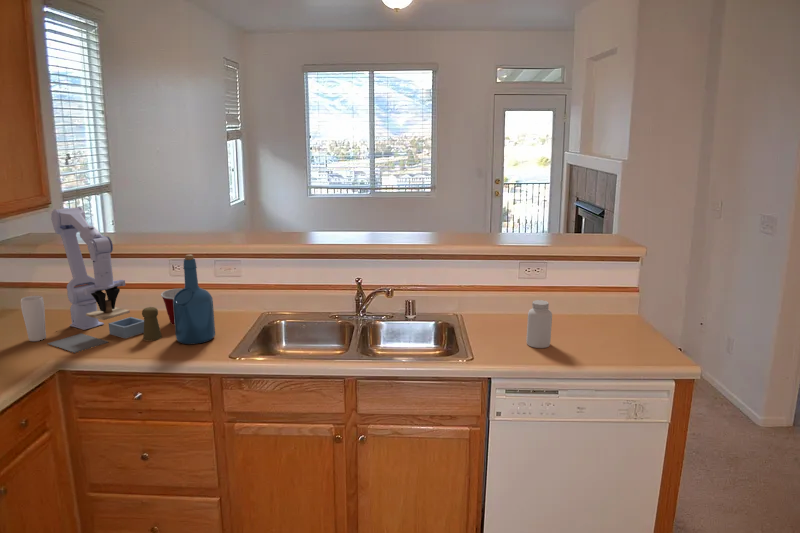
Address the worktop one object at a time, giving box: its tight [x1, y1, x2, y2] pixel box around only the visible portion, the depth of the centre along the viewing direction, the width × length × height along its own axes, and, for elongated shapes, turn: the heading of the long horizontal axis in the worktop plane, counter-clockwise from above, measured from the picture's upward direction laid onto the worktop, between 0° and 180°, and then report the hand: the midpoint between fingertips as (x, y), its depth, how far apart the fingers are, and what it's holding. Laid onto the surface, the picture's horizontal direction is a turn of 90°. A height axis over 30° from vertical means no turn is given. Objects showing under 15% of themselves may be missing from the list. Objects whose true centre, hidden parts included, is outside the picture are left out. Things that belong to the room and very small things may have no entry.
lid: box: [86, 299, 131, 321], centre depth 212 cm, size 10×10×5 cm
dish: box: [108, 316, 144, 339], centre depth 218 cm, size 9×9×4 cm
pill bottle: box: [525, 299, 553, 349], centre depth 204 cm, size 8×8×15 cm
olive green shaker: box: [141, 306, 162, 342], centre depth 212 cm, size 6×6×11 cm
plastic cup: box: [160, 288, 183, 326], centre depth 228 cm, size 11×11×12 cm
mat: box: [46, 332, 109, 354], centre depth 208 cm, size 16×12×1 cm
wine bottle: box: [173, 253, 216, 345], centre depth 209 cm, size 14×13×30 cm
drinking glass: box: [20, 295, 47, 342], centre depth 210 cm, size 7×7×15 cm
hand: (107, 309), depth 213 cm, fingers closed on lid, 3 cm apart
